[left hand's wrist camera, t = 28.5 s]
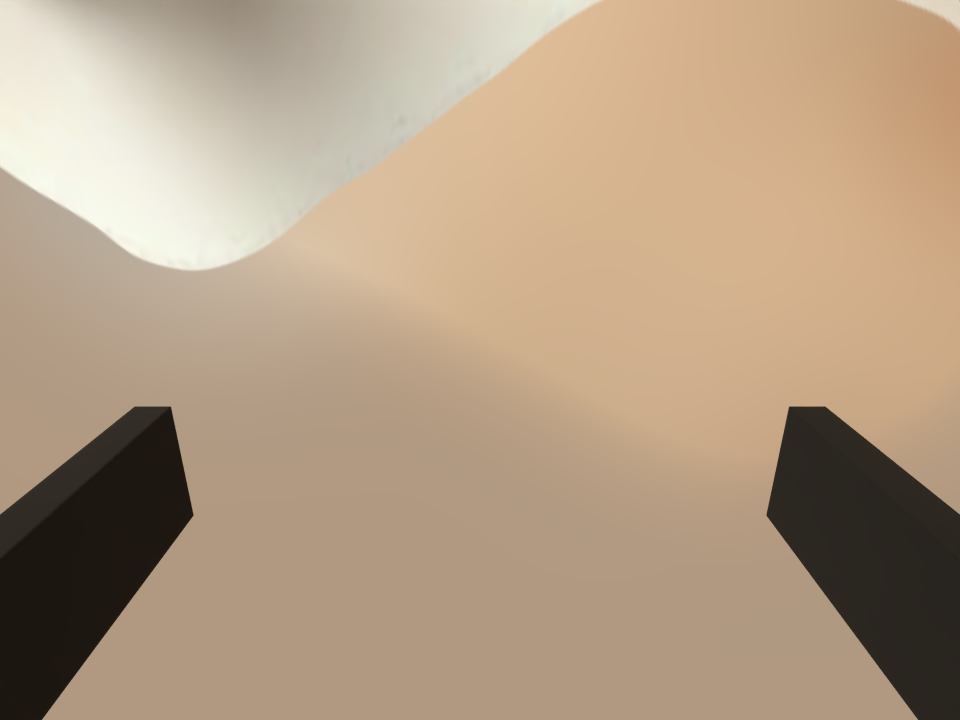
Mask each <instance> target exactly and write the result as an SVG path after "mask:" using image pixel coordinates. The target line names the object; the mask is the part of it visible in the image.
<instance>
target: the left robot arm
mask: <svg viewBox="0 0 960 720" xmlns="http://www.w3.org/2000/svg"><path fill="white" fill-rule="evenodd" d="M192 517H193V511H192V506H191V501H190V496H189V492H188V487H187V482H186V477H185V472H184V467H183V463H182V458H181V453H180V448H179V443H178V439H177V434H176V429H175V425H174V420H173V415H172V410H171V407H134V408H133V409H131V410H130V411H129V412H127V413H126V414H125V415H124V416H122V417H121V418H120V419H119V420H117V421H116V422H115V423H114V424H113V425H111V426H110V427H109V428H108V429H106V430H105V431H104V432H103V433H101V434H100V435H99V436H98V437H96V438H95V439H94V440H93V441H91V442H90V443H89V444H88V445H86V446H85V447H84V448H83V449H81V450H80V451H79V452H78V453H76V454H75V455H74V456H73V457H71V458H70V459H69V460H68V461H66V462H65V463H64V464H63V465H61V466H60V467H59V468H58V469H57V470H55V471H54V472H53V473H51V474H50V475H49V476H48V477H46V478H45V479H44V480H43V481H42V482H40V483H39V484H38V485H37V486H35V487H34V488H33V489H32V490H30V491H29V492H28V493H27V494H25V495H24V496H23V497H22V498H20V499H19V500H18V501H17V502H15V503H14V504H13V505H12V506H10V507H9V508H8V509H7V510H5V511H4V512H3V513H2V514H0V720H42V719H43V718H44V716H45V715H46V713H47V712H48V711H49V709H50V708H51V707H52V705H53V704H54V703H55V701H56V700H57V699H58V697H59V696H60V695H61V693H62V692H63V691H64V689H65V688H66V686H67V685H68V684H69V682H70V681H71V680H72V678H73V677H74V676H75V674H76V673H77V672H78V670H79V669H80V668H81V666H82V665H83V664H84V662H85V661H86V660H87V658H88V657H89V656H90V654H91V653H92V651H93V650H94V649H95V647H96V646H97V645H98V643H99V642H100V641H101V639H102V638H103V637H104V635H105V634H106V633H107V631H108V630H109V629H110V627H111V626H112V625H113V623H114V622H115V621H116V619H117V618H118V616H119V615H120V614H121V612H122V611H123V610H124V608H125V607H126V606H127V604H128V603H129V602H130V600H131V599H132V598H133V596H134V595H135V594H136V592H137V591H138V590H139V588H140V587H141V585H142V584H143V583H144V581H145V580H146V579H147V577H148V576H149V575H150V573H151V572H152V571H153V569H154V568H155V567H156V565H157V564H158V563H159V561H160V560H161V559H162V557H163V556H164V554H165V553H166V552H167V550H168V549H169V548H170V546H171V545H172V544H173V542H174V541H175V540H176V538H177V537H178V536H179V534H180V533H181V532H182V530H183V529H184V528H185V526H186V525H187V523H188V522H189V521H190V519H191V518H192ZM767 517H768V518H769V519H770V521H771V522H772V524H773V525H774V526H775V528H776V529H777V530H778V532H779V533H780V534H781V536H782V537H783V538H784V540H785V541H786V542H787V544H788V545H789V546H790V548H791V549H792V550H793V552H794V553H795V555H796V556H797V557H798V559H799V560H800V561H801V563H802V564H803V565H804V567H805V568H806V569H807V571H808V572H809V573H810V575H811V576H812V577H813V579H814V580H815V581H816V583H817V584H818V585H819V587H820V588H821V589H822V591H823V592H824V594H825V595H826V596H827V598H828V599H829V600H830V602H831V603H832V604H833V606H834V607H835V608H836V610H837V611H838V612H839V614H840V615H841V616H842V618H843V619H844V621H845V622H846V623H847V625H848V626H849V627H850V629H851V630H852V631H853V633H854V634H855V635H856V637H857V638H858V639H859V641H860V642H861V643H862V645H863V646H864V647H865V649H866V650H867V651H868V653H869V654H870V655H871V657H872V658H873V660H874V661H875V662H876V664H877V665H878V666H879V668H880V669H881V670H882V672H883V673H884V674H885V676H886V677H887V678H888V680H889V681H890V682H891V684H892V685H893V687H894V688H895V689H896V691H897V692H898V693H899V695H900V696H901V697H902V699H903V700H904V701H905V703H906V704H907V705H908V707H909V708H910V709H911V711H912V712H913V713H914V715H915V716H916V718H917V719H918V720H960V514H958V513H957V512H956V511H955V510H953V509H952V508H951V507H950V506H948V505H947V504H946V503H945V502H943V501H942V500H941V499H940V498H938V497H937V496H936V495H935V494H933V493H932V492H931V491H930V490H928V489H927V488H926V487H925V486H923V485H922V484H921V483H920V482H919V481H917V480H916V479H915V478H914V477H912V476H911V475H910V474H908V473H907V472H906V471H905V470H904V469H902V468H901V467H900V466H899V465H897V464H896V463H895V462H894V461H892V460H891V459H890V458H889V457H887V456H886V455H885V454H884V453H882V452H881V451H880V450H879V449H877V448H876V447H875V446H874V445H872V444H871V443H870V442H869V441H867V440H866V439H865V438H864V437H862V436H861V435H860V434H859V433H857V432H856V431H855V430H854V429H852V428H851V427H850V426H849V425H847V424H846V423H845V422H844V421H843V420H841V419H840V418H839V417H837V416H836V415H835V414H834V413H832V412H831V411H830V410H829V409H828V408H826V407H789V410H788V415H787V420H786V424H785V429H784V434H783V439H782V443H781V448H780V453H779V458H778V463H777V468H776V472H775V477H774V482H773V487H772V491H771V496H770V501H769V506H768V510H767Z"/></svg>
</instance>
